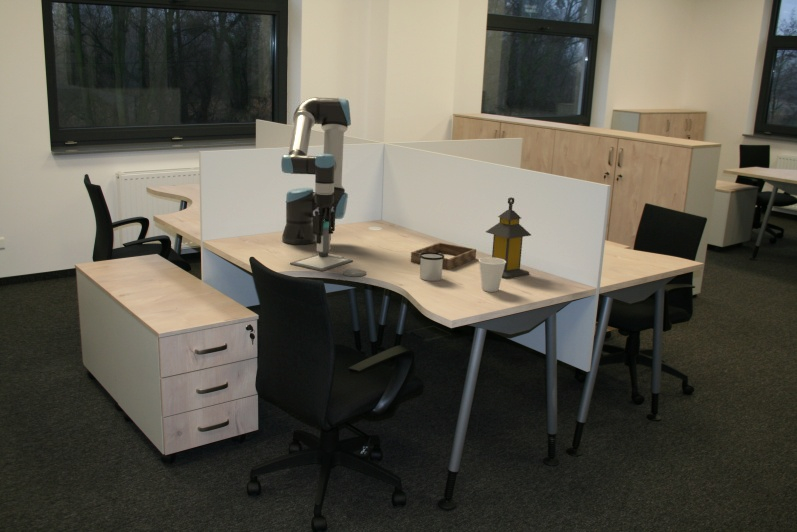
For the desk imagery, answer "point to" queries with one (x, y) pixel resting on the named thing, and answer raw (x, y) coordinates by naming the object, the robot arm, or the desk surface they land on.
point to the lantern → (509, 242)
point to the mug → (431, 266)
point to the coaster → (354, 272)
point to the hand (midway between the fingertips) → (323, 250)
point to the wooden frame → (460, 252)
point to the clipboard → (322, 262)
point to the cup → (491, 273)
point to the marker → (325, 239)
